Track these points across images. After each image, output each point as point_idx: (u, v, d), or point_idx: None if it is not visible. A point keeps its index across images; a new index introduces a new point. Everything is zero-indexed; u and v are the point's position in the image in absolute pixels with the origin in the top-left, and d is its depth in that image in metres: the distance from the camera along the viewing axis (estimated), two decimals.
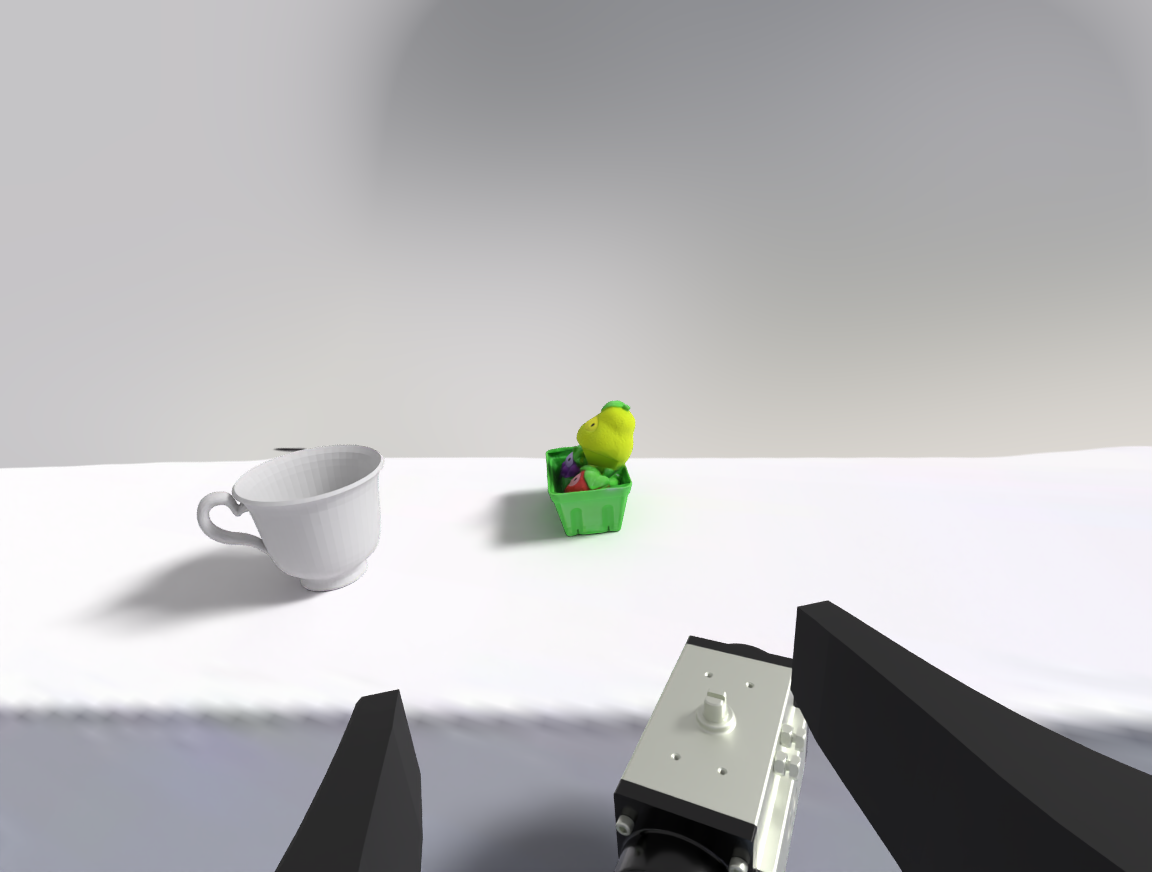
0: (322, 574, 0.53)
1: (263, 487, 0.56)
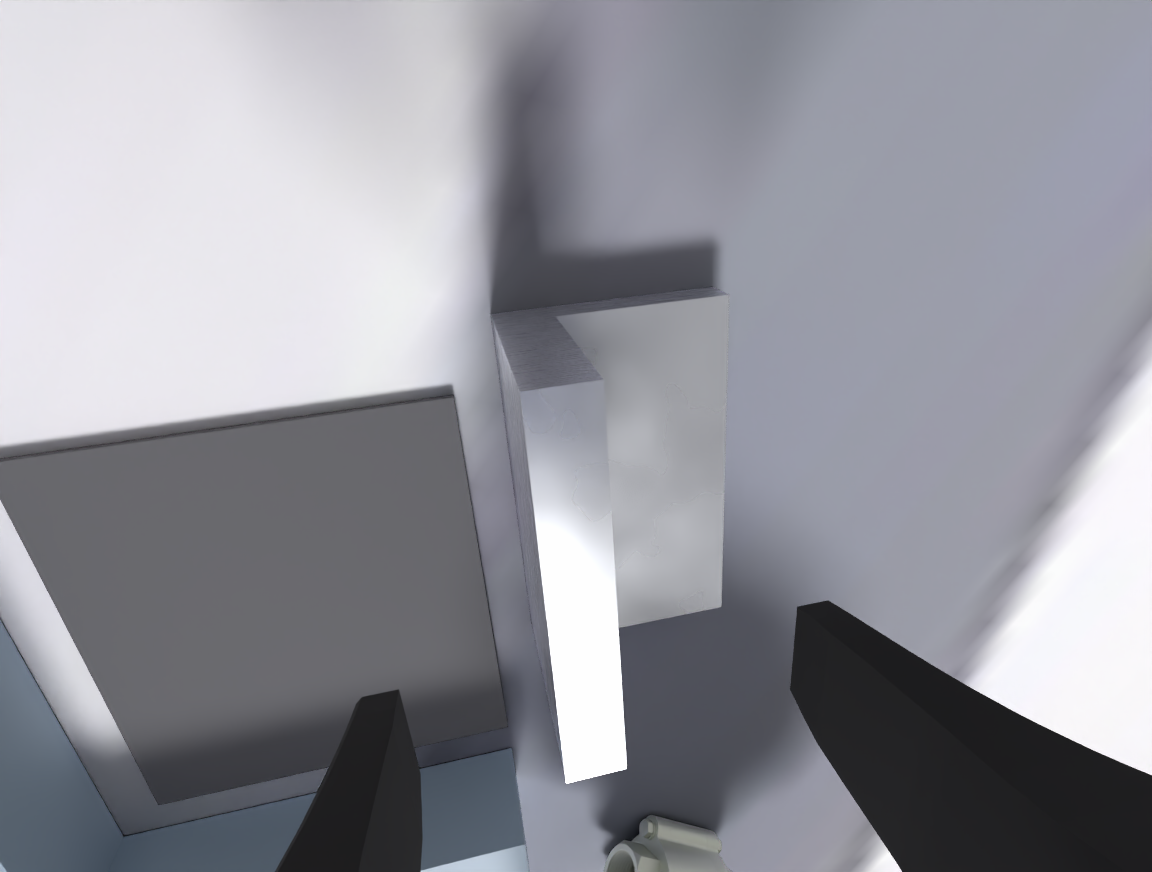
0: None
1: None
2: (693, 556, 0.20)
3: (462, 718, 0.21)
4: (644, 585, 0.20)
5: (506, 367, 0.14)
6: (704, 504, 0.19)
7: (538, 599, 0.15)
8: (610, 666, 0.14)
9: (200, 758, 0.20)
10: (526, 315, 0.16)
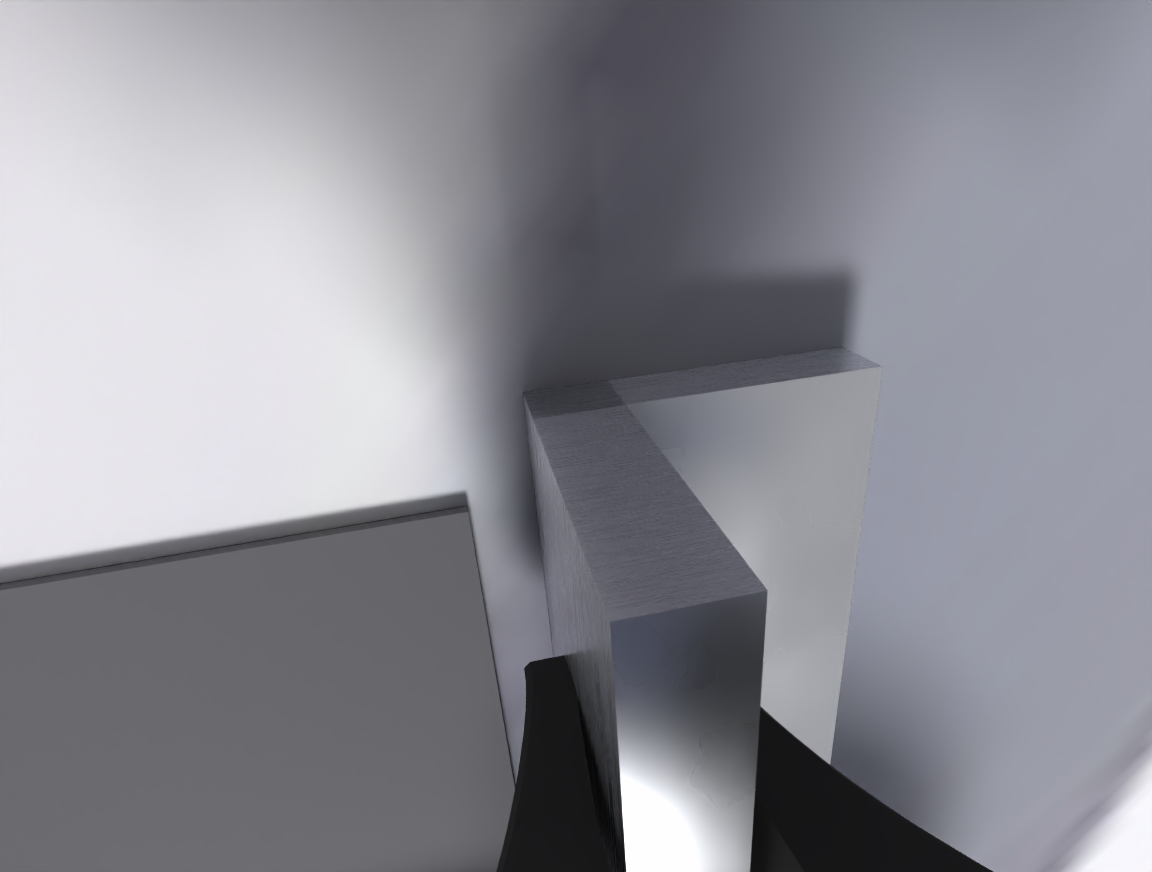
0: None
1: None
2: (798, 714, 0.14)
3: None
4: None
5: (561, 513, 0.08)
6: (819, 649, 0.13)
7: None
8: None
9: None
10: (579, 400, 0.11)
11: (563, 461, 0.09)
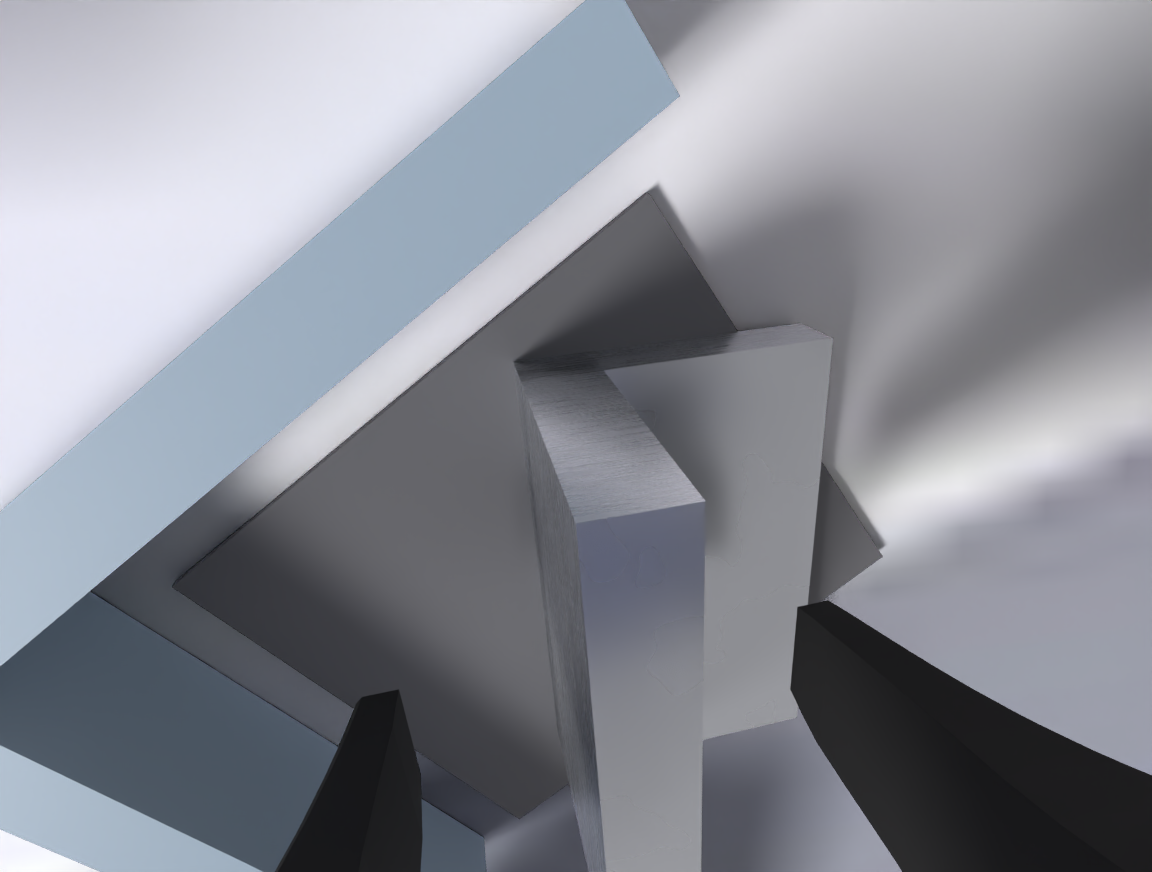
0: None
1: None
2: (766, 661, 0.15)
3: (510, 778, 0.17)
4: (704, 697, 0.16)
5: (543, 455, 0.09)
6: (784, 599, 0.15)
7: (582, 764, 0.11)
8: None
9: (295, 589, 0.13)
10: (563, 367, 0.12)
11: (545, 413, 0.10)
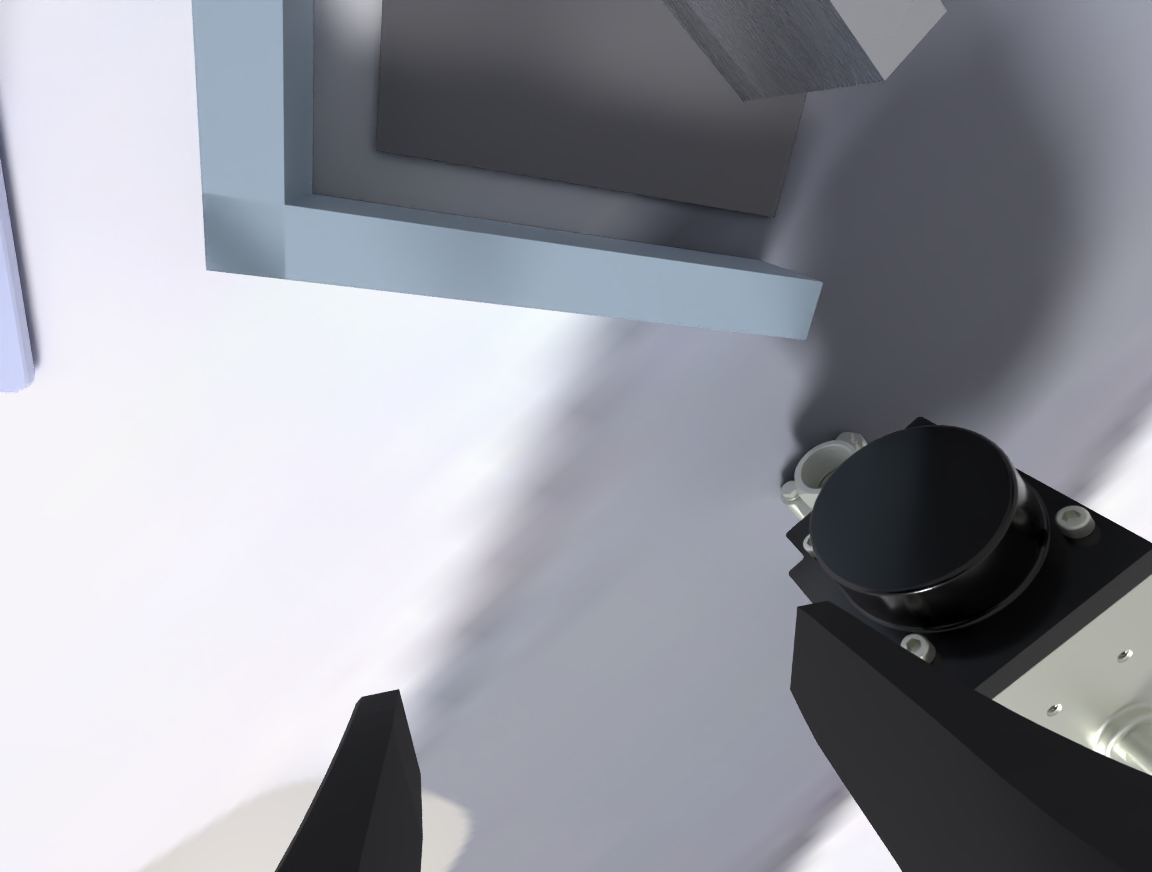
0: None
1: None
2: None
3: (737, 177, 0.18)
4: None
5: None
6: None
7: None
8: None
9: (451, 94, 0.16)
10: None
11: None
